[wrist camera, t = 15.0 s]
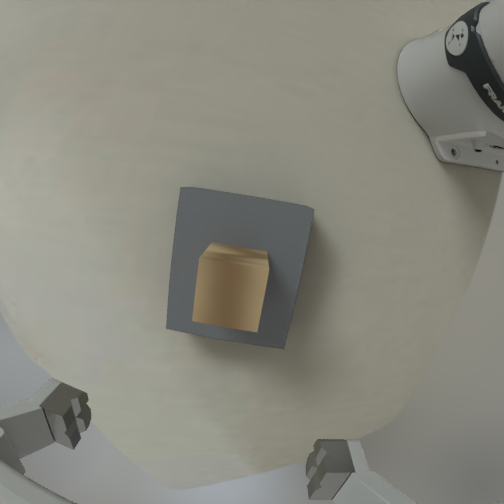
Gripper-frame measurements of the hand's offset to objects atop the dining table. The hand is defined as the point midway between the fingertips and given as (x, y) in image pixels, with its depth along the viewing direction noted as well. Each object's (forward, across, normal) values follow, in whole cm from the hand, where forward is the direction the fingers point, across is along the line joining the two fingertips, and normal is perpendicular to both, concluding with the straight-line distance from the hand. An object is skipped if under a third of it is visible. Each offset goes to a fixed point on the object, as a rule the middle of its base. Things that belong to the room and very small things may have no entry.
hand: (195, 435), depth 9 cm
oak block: (+20, 0, 0) cm, 20 cm away
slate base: (+24, 0, 0) cm, 24 cm away
